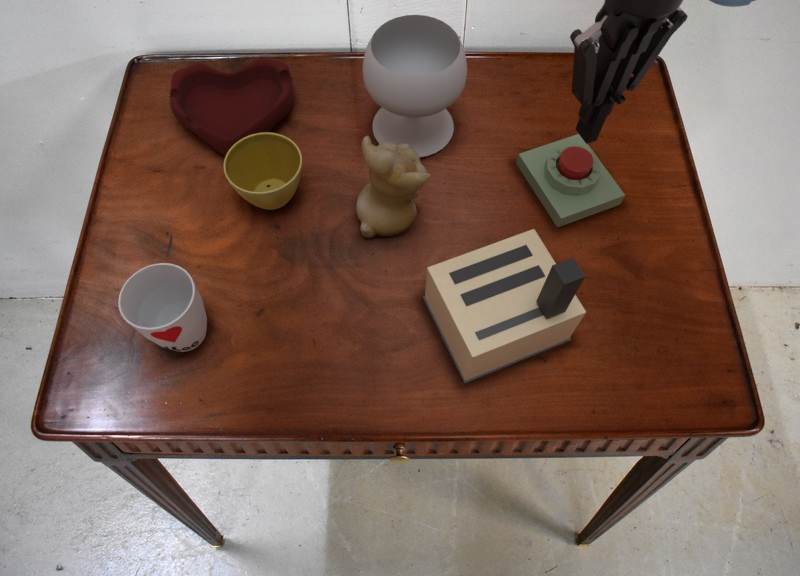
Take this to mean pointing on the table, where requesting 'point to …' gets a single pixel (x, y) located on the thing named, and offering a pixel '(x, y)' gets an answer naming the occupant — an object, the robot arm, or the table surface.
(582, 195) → the control block
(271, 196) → the flower pot
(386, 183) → the figurine
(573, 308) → the toaster
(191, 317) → the cup
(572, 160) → the button
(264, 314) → the table surface
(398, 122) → the chalice
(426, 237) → the table surface
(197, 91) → the ashtray
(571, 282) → the toaster slider
